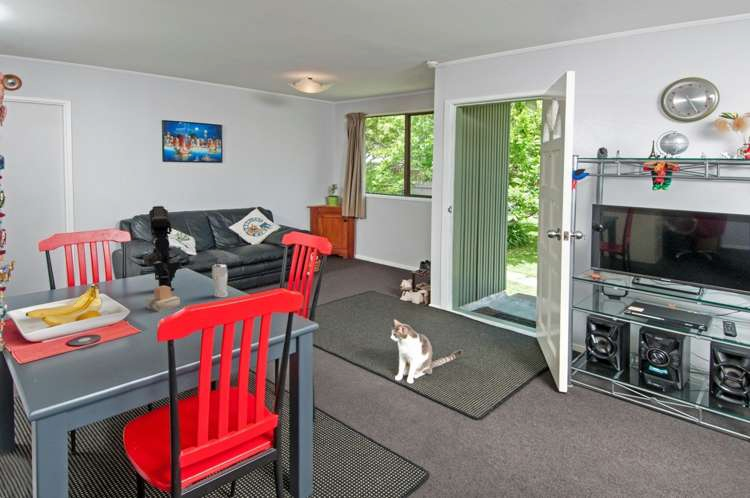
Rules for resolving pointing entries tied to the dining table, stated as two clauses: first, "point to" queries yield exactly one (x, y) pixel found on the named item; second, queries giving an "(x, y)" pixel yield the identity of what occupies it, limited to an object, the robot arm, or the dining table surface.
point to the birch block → (163, 303)
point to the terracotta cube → (162, 292)
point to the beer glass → (220, 280)
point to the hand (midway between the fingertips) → (165, 279)
